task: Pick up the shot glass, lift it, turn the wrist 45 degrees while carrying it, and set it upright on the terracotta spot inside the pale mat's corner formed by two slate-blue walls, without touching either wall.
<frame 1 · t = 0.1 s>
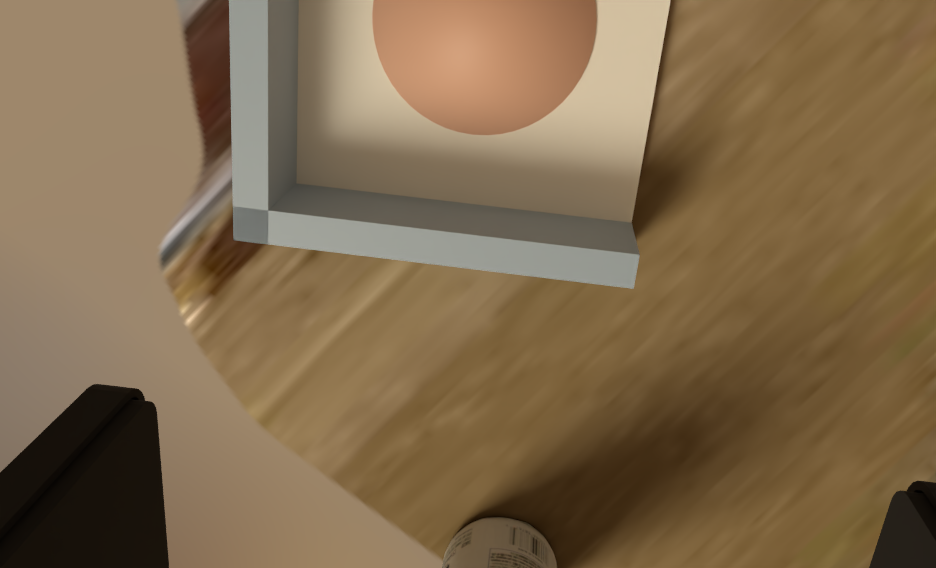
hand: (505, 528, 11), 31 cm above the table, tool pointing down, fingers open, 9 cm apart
arena: (460, 42, 39), on the table
spray can: (502, 555, 50), on the table
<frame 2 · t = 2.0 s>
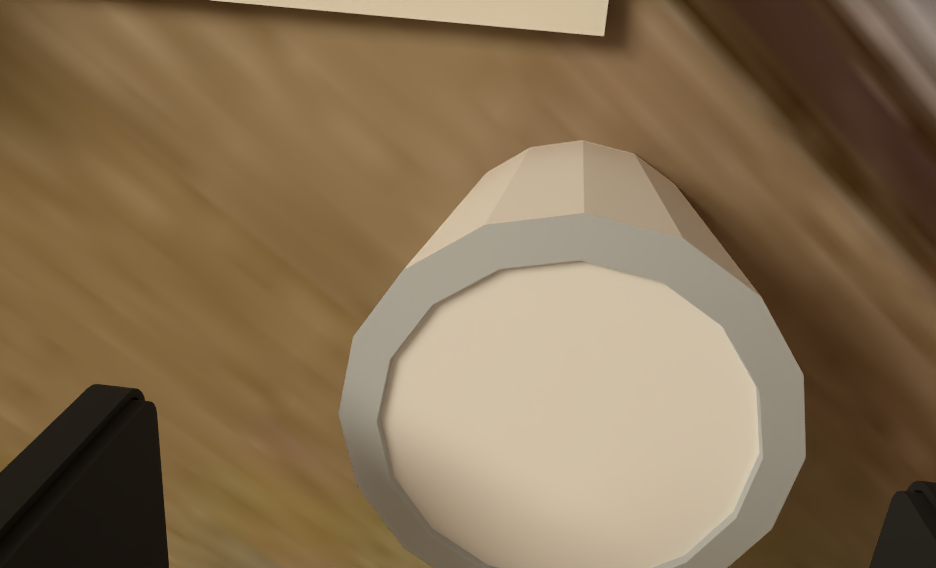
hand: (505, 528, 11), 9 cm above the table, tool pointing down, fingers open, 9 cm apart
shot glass: (572, 262, 19), on the table
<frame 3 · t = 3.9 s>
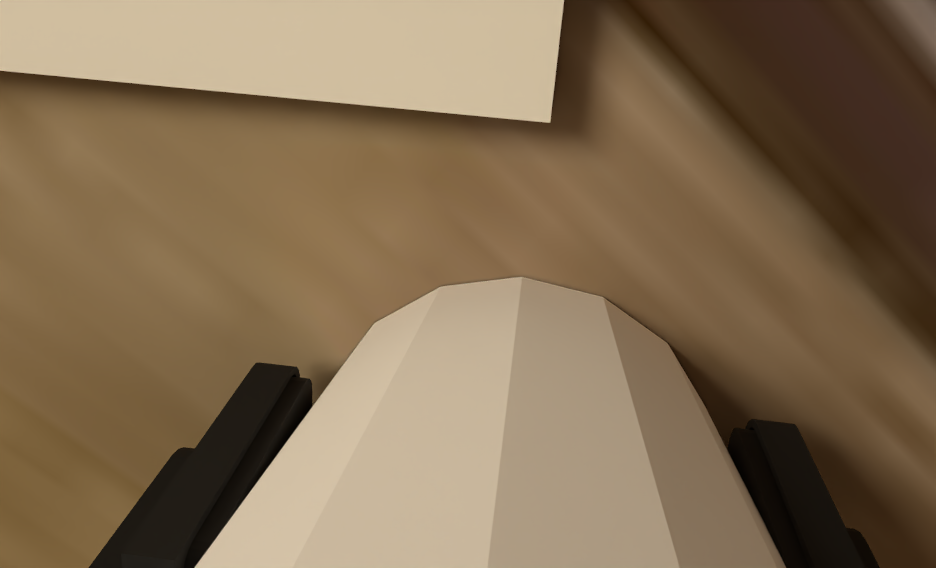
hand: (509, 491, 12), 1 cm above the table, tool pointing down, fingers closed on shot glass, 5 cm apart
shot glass: (512, 449, 12), on the table, touching gripper
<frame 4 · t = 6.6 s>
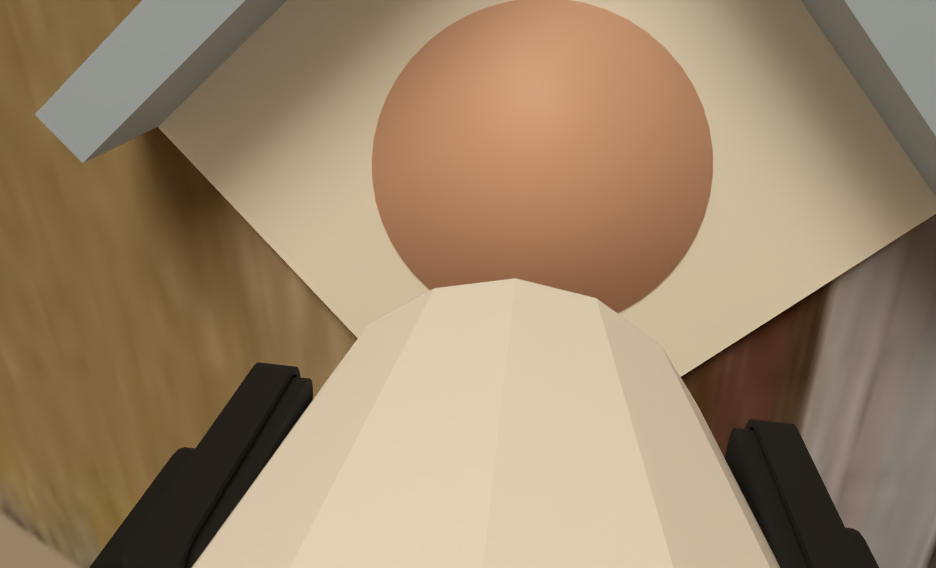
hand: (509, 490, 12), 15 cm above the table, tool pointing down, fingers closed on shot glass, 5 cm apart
arena: (544, 124, 25), on the table
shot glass: (506, 450, 12), point 14 cm above the table, touching gripper
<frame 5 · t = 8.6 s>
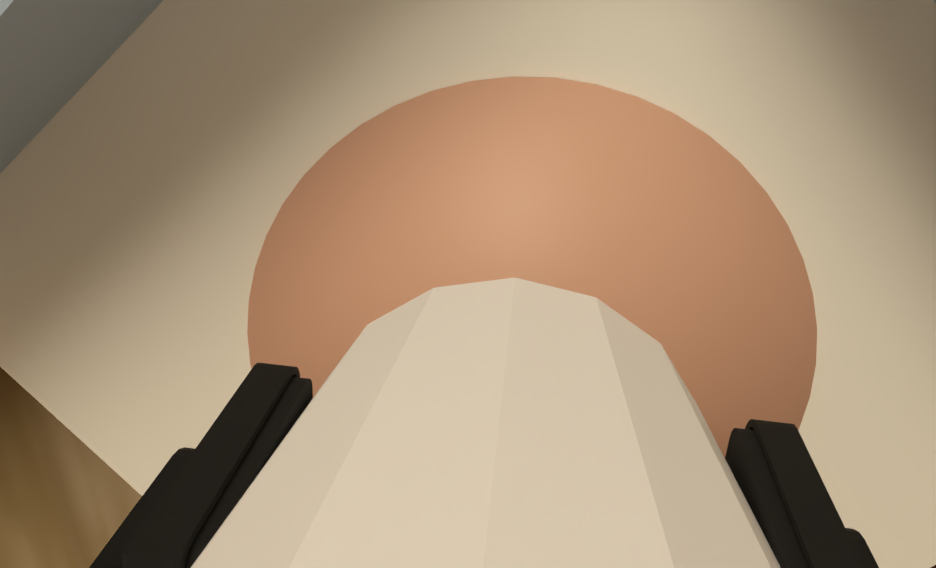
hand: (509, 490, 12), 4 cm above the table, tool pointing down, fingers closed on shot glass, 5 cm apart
arena: (532, 276, 15), on the table
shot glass: (506, 449, 12), point 3 cm above the table, touching gripper
when the fingers open (3 cm above the table, at t = 9.9 s): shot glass drops 1 cm, resting on arena.
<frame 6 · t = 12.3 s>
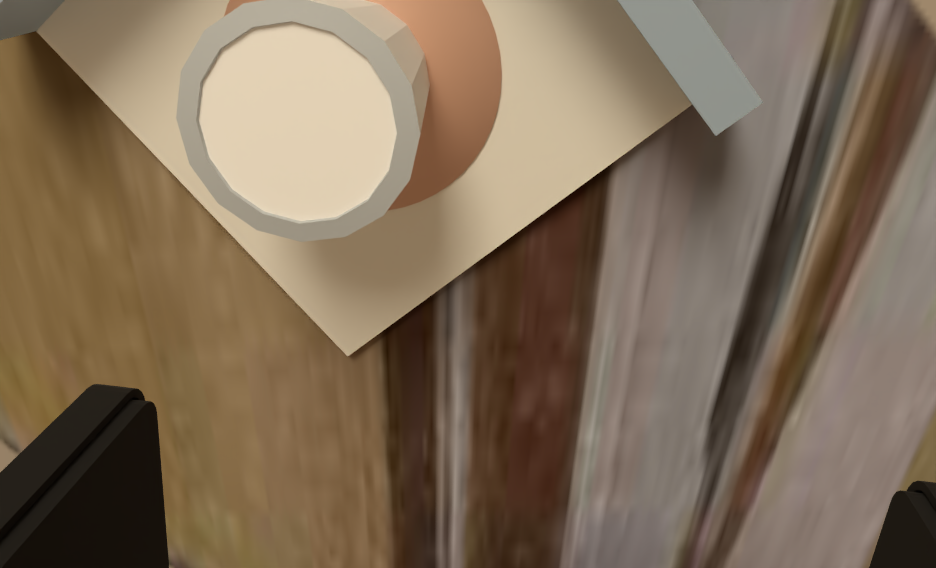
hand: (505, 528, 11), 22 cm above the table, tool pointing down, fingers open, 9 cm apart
arena: (364, 31, 30), on the table
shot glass: (351, 79, 30), point 1 cm above the table, touching arena
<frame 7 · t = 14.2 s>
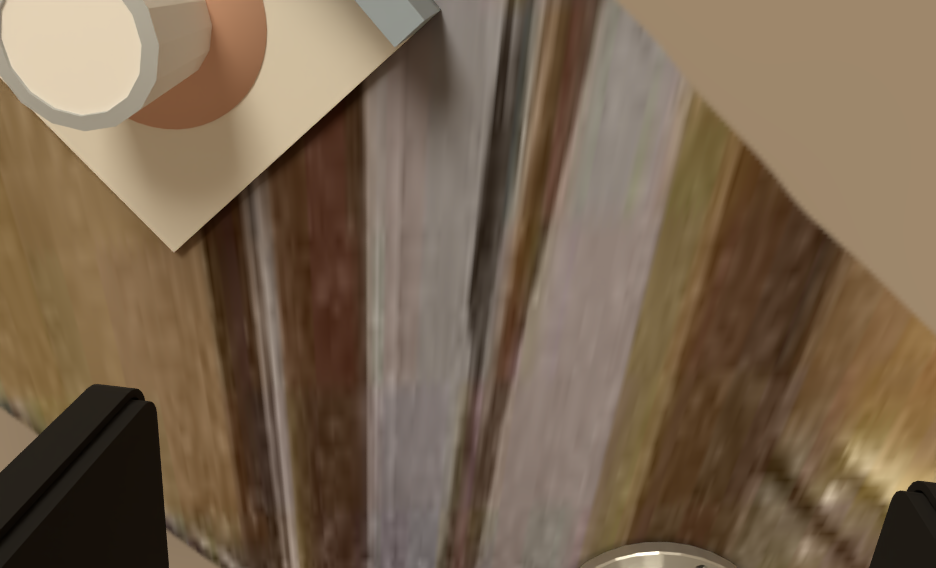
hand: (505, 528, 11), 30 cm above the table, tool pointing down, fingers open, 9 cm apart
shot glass: (153, 22, 39), point 1 cm above the table, touching arena
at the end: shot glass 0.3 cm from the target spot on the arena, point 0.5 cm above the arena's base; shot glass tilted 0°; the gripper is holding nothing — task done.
